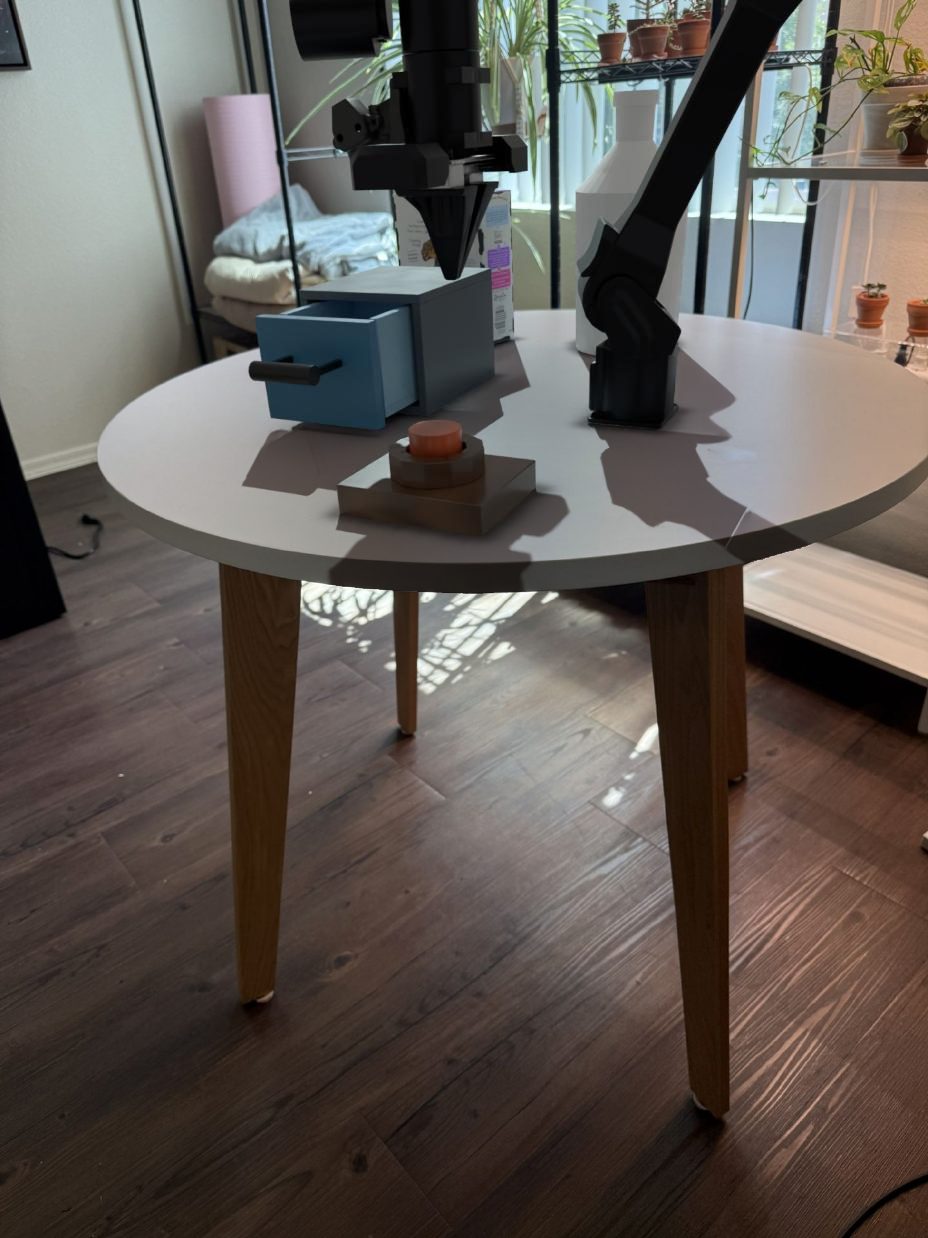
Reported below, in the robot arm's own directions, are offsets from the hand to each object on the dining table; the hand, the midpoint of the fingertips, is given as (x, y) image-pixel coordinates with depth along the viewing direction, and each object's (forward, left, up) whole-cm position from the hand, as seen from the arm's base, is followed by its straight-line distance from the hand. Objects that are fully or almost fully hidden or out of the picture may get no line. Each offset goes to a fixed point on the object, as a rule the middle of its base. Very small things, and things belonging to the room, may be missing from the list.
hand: (452, 279), depth 72 cm
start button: (-7, +17, -8) cm, 20 cm away
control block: (-7, +17, -12) cm, 22 cm away
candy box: (+16, -31, -12) cm, 37 cm away
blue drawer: (+10, +2, -11) cm, 15 cm away
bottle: (-5, -32, -12) cm, 35 cm away
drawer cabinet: (+10, -8, -12) cm, 18 cm away
